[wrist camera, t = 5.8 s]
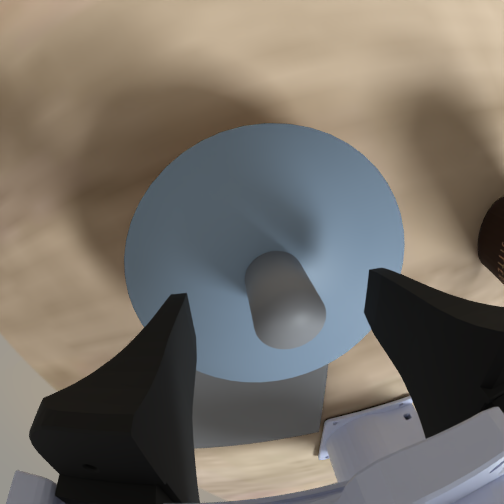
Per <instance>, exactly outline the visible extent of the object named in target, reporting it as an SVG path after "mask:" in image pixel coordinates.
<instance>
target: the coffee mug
mask: <svg viewBox="0 0 504 504" xmlns="http://www.w3.org/2000/svg"><path fill="white" fill-rule="evenodd" d="M478 255H479V258H480V260H481V262H482V264H483V265H484V266H485V267H487V268H488V269H489V270H490V271H491V272H492V273H493V274H494V275H495V276H496V277H497V278H498V279H499V280H500V281H501V282H502V283H503V284H504V197H502V198H500V199H499V200H497V201H496V202H495V203H494V204H493V205H492V206H491V208H490V209H489V211H488V212H487V214H486V216H485V218H484V220H483V223H482V226H481V229H480V233H479V238H478Z"/></svg>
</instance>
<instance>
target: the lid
mask: <svg viewBox="0 0 504 504" xmlns="http://www.w3.org/2000/svg"><path fill="white" fill-rule="evenodd" d="M403 256H404V229H403V224H402V219H401V214H400V211H399V208H398V205H397V202H396V199H395V197H394V195H393V193H392V191H391V189H390V187H389V185H388V183H387V182H386V180H385V179H384V178H383V176H382V175H381V173H380V172H379V171H378V169H377V168H376V167H375V166H374V165H373V164H372V163H371V162H370V161H369V160H368V159H367V158H366V157H365V156H364V155H363V154H361V153H360V152H359V151H357V150H356V149H355V148H353V147H352V146H351V145H349V144H348V143H346V142H344V141H342V140H340V139H338V138H336V137H334V136H332V135H330V134H328V133H325V132H322V131H319V130H316V129H313V128H309V127H304V126H298V125H292V124H274V123H263V124H255V125H247V126H241V127H238V128H234V129H230V130H227V131H223V132H221V133H218V134H216V135H214V136H211V137H209V138H207V139H205V140H202V141H201V142H199V143H197V144H196V145H194V146H193V147H191V148H189V149H188V150H186V151H185V152H183V153H182V154H181V155H180V156H178V157H177V158H176V159H175V160H174V161H173V162H171V163H170V164H169V165H168V166H167V167H166V168H165V169H164V170H163V171H162V172H161V174H160V175H159V176H158V177H157V178H156V179H155V180H154V182H153V183H152V184H151V185H150V187H149V188H148V190H147V191H146V193H145V195H144V196H143V198H142V199H141V201H140V203H139V205H138V207H137V209H136V211H135V214H134V216H133V218H132V221H131V224H130V228H129V231H128V235H127V239H126V246H125V256H124V266H125V279H126V284H127V289H128V294H129V297H130V299H131V302H132V305H133V308H134V310H135V312H136V314H137V316H138V318H139V320H140V321H141V323H142V325H143V326H144V327H145V326H146V325H147V324H148V323H149V321H150V320H151V319H152V318H153V317H154V315H155V314H156V313H157V311H158V310H159V309H160V308H161V306H162V305H163V304H164V302H165V301H166V300H167V298H168V297H169V296H170V295H171V294H180V293H187V295H188V300H189V305H190V310H191V315H192V320H193V325H194V329H195V334H196V346H197V364H196V370H197V371H199V372H201V373H204V374H207V375H210V376H213V377H217V378H221V379H226V380H230V381H239V382H270V381H278V380H283V379H288V378H293V377H296V376H299V375H303V374H306V373H309V372H311V371H313V370H316V369H318V368H321V367H323V366H324V365H326V364H328V363H330V362H332V361H334V360H335V359H337V358H338V357H340V356H341V355H343V354H344V353H346V352H347V351H349V350H350V349H351V348H352V347H353V346H355V345H356V344H357V343H358V342H359V341H360V340H361V339H362V338H363V337H364V336H365V335H366V334H367V333H368V332H369V331H370V330H371V327H370V325H369V323H368V321H367V319H366V316H365V314H364V307H365V300H366V292H367V284H368V275H369V269H376V268H386V269H389V270H392V271H394V272H397V273H399V274H400V273H401V269H402V264H403Z"/></svg>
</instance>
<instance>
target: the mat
mask: <svg viewBox="0 0 504 504" xmlns="http://www.w3.org/2000/svg"><path fill="white" fill-rule="evenodd" d="M327 370H328V364H326V365H324V366H323V367H321V368H318V369H316V370H313V371H311V372H309V373H306V374H303V375H299V376H296V377H293V378H288V379H283V380H278V381H270V382H239V381H230V380H226V379H221V378H217V377H213V376H210V375H207V374H204V373H201V372H199V371H197V370H196V375H195V386H194V398H193V414H192V420H193V441H194V448H210V447H223V446H233V445H243V444H251V443H258V442H266V441H272V440H278V439H284V438H290V437H296V436H301V435H306V434H311V433H316V432H319V428H320V422H321V415H322V408H323V401H324V394H325V386H326V378H327Z"/></svg>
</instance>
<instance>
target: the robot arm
mask: <svg viewBox="0 0 504 504" xmlns="http://www.w3.org/2000/svg"><path fill="white" fill-rule="evenodd" d="M364 314H365V316H366V319H367V321H368V323H369V325H370V327H371V329H372V332H373V333H374V335H375V336H376V338H377V339H378V341H379V343H380V344H381V346H382V347H383V349H384V350H385V352H386V353H387V355H388V356H389V358H390V359H391V361H392V362H393V364H394V365H395V367H396V369H397V370H398V372H399V374H400V375H401V377H402V379H403V381H404V383H405V385H406V387H407V390H408V392H409V394H410V396H408V397H405V398H402V399H399V400H396V401H393V402H390V403H386V404H383V405H380V406H377V407H373V408H370V409H366V410H363V411H359V412H355V413H351V414H348V415H344V416H340V417H335V418H331V419H328V420H326V421H325V423H324V428H323V433H322V439H321V444H320V449H319V454H318V458H319V460H324V459H329V458H330V461H331V464H332V467H333V469H334V472H335V475H336V478H337V481H338V483H336V484H332V485H328V486H324V487H319V488H315V489H310V490H306V491H301V492H296V493H290V494H285V495H279V496H272V497H265V498H258V499H250V500H240V501H229V502H214V503H200V501H199V495H198V494H199V493H198V486H197V476H196V466H195V455H194V441H193V420H192V414H193V398H194V386H195V375H196V364H197V346H196V334H195V329H194V325H193V320H192V315H191V310H190V305H189V300H188V295H187V293H180V294H171V295H170V296H169V297H168V298H167V300H166V301H165V302H164V304H163V305H162V306H161V308H160V309H159V310H158V311H157V313H156V314H155V315H154V317H153V318H152V319H151V320H150V321H149V323H148V324H147V325H146V326H145V327H144V328H143V330H142V331H141V332H140V333H139V334H138V335H137V336H136V337H135V338H134V339H133V340H132V341H131V342H130V343H129V344H128V345H127V346H126V347H125V348H124V349H123V350H122V351H121V352H120V353H118V354H117V355H116V356H115V357H114V358H112V359H111V360H110V361H108V362H107V363H106V364H104V365H103V366H101V367H100V368H99V369H97V370H96V371H95V372H93V373H91V374H90V375H88V376H87V377H85V378H83V379H82V380H80V381H78V382H76V383H75V384H73V385H71V386H69V387H67V388H65V389H63V390H60V391H58V392H56V393H54V394H52V395H50V396H47V397H45V398H43V400H42V402H41V404H40V406H39V409H38V411H37V414H36V416H35V419H34V421H33V424H32V426H31V429H30V433H29V437H30V440H31V443H32V445H33V446H34V448H35V449H36V450H37V451H38V453H39V454H40V455H41V456H42V457H43V458H44V459H45V460H46V461H47V462H48V463H49V464H50V465H51V466H52V467H53V468H54V469H55V470H56V471H57V472H58V473H59V474H60V475H59V479H58V483H57V484H56V483H54V482H53V481H51V480H49V479H47V478H44V477H42V476H38V475H34V474H30V473H26V472H23V471H19V470H17V471H16V472H15V475H14V478H13V481H12V484H11V487H10V491H9V494H8V498H7V502H6V504H504V307H499V306H492V305H487V304H482V303H477V302H473V301H469V300H466V299H463V298H459V297H456V296H453V295H450V294H447V293H444V292H442V291H439V290H437V289H434V288H432V287H429V286H427V285H425V284H422V283H420V282H418V281H415V280H413V279H411V278H408V277H406V276H404V275H402V274H399V273H397V272H394V271H392V270H389V269H386V268H376V269H369V275H368V284H367V292H366V300H365V307H364ZM412 402H413V403H414V406H415V408H416V410H415V408H414V407H413V405H412ZM416 411H417V412H416Z"/></svg>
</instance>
